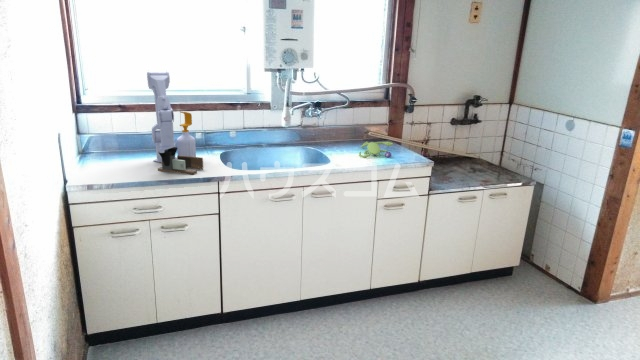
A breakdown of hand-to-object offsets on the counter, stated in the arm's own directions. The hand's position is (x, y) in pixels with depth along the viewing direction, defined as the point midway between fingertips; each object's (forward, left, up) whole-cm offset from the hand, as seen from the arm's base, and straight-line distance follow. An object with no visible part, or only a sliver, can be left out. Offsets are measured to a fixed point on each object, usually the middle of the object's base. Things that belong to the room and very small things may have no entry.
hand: (169, 164), depth 214 cm
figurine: (-72, +87, -4) cm, 114 cm away
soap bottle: (-22, -4, -3) cm, 23 cm away
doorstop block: (0, 0, -2) cm, 2 cm away
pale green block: (0, +5, -2) cm, 5 cm away
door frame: (-4, +4, -3) cm, 6 cm away
